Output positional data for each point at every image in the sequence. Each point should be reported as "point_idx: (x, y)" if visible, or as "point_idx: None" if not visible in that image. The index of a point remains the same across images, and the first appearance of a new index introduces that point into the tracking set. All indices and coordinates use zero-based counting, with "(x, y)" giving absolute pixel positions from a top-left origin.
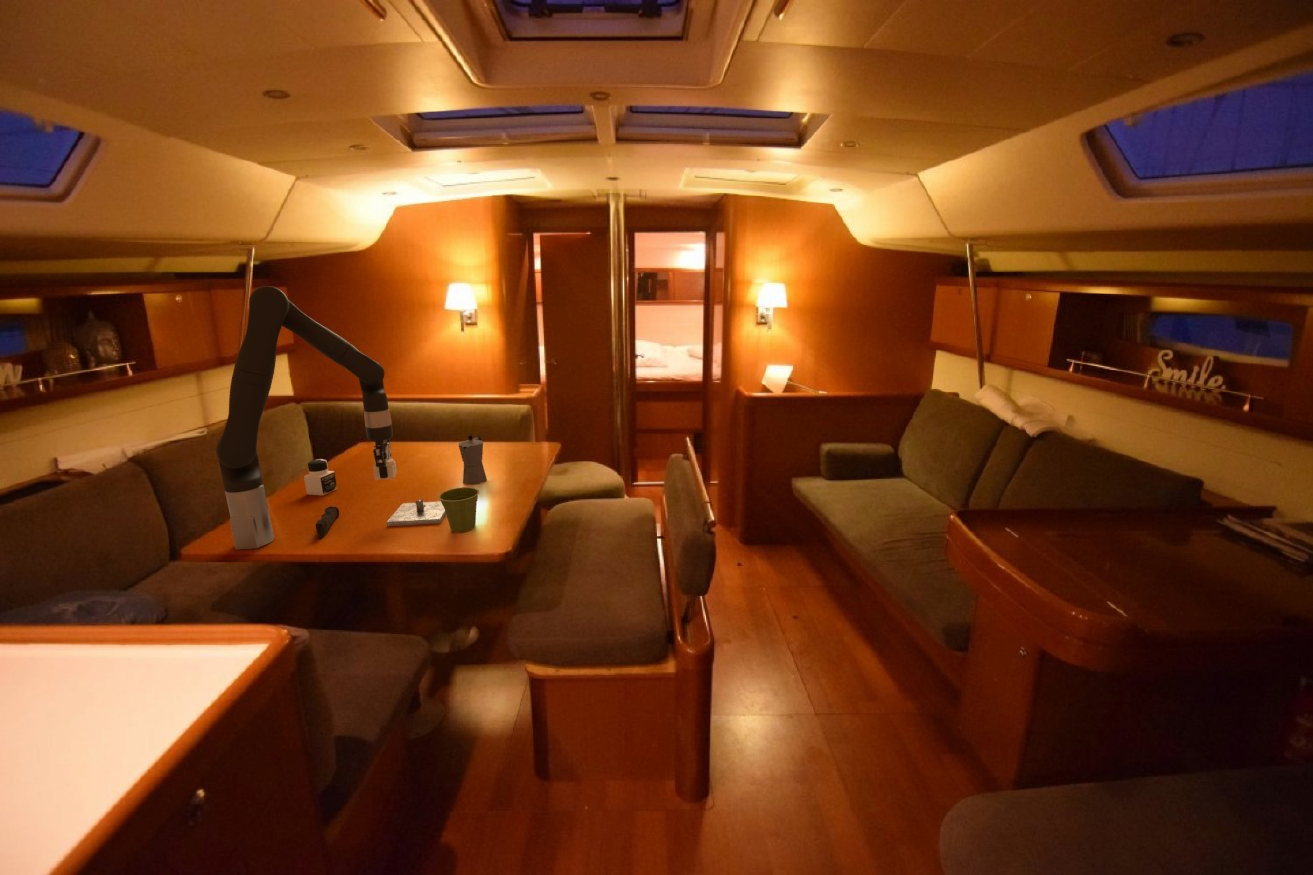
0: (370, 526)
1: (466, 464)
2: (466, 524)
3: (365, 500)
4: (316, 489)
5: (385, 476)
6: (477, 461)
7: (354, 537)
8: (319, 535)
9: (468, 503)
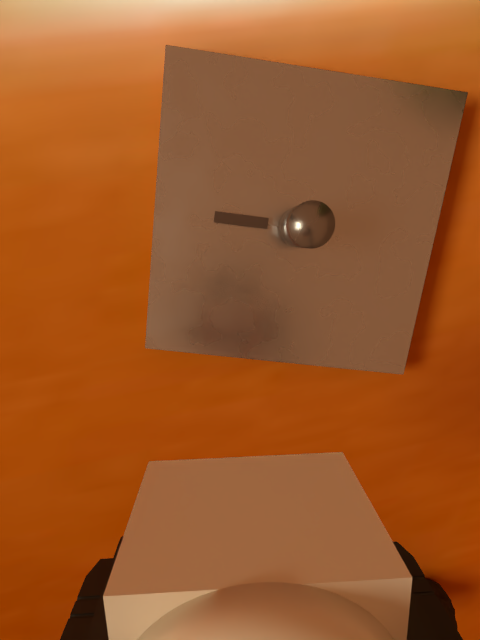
0: (366, 436)
1: None
2: None
3: (4, 537)
4: None
5: (399, 546)
6: None
7: (469, 468)
8: (447, 595)
9: None
